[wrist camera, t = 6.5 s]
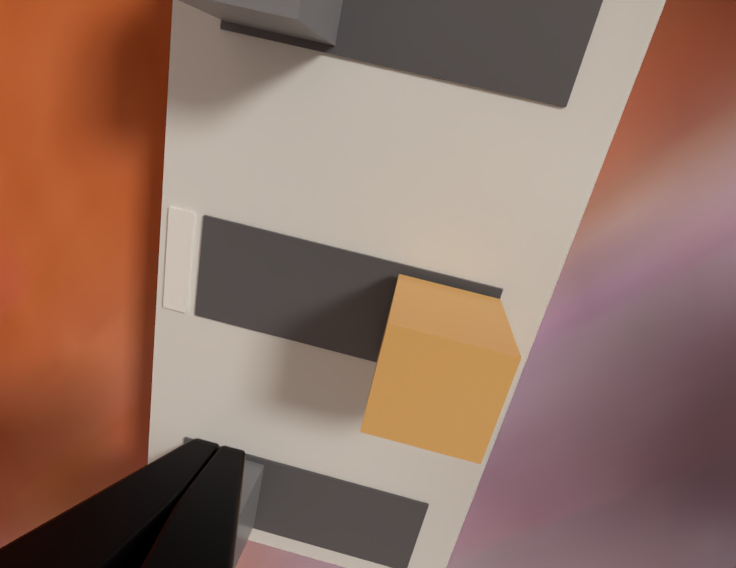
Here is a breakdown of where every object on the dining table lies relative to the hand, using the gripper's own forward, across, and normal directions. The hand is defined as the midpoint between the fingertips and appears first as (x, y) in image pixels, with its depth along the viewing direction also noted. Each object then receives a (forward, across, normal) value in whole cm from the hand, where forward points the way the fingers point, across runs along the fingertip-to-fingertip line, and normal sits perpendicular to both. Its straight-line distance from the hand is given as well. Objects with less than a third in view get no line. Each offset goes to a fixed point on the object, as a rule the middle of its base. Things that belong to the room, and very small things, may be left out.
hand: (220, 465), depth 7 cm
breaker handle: (+7, -4, 0) cm, 8 cm away
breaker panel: (+10, -1, 0) cm, 10 cm away
